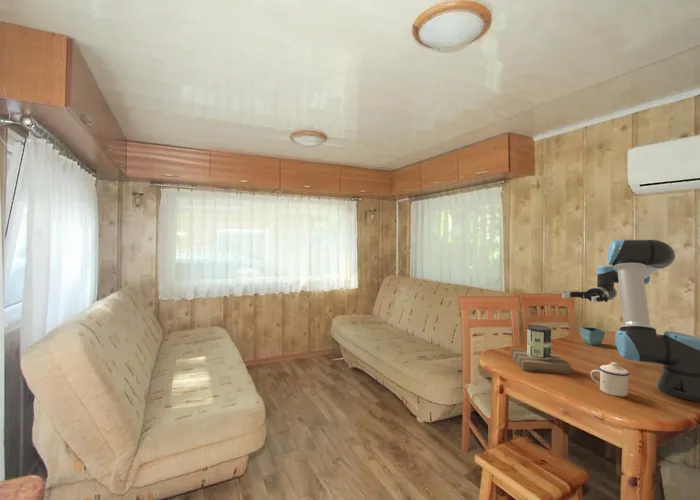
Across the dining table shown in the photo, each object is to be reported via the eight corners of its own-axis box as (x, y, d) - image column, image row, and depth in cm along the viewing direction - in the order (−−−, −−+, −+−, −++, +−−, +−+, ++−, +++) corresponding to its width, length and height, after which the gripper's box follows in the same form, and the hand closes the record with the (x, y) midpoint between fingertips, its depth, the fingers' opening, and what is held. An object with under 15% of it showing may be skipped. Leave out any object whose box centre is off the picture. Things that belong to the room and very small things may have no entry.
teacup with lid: (629, 392, 129) (630, 362, 129) (627, 399, 123) (628, 368, 123) (592, 383, 138) (592, 355, 138) (588, 389, 131) (589, 360, 131)
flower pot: (605, 346, 189) (605, 331, 189) (589, 346, 189) (590, 330, 189) (594, 342, 198) (594, 327, 198) (579, 341, 198) (579, 327, 198)
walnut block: (570, 373, 147) (570, 365, 147) (522, 370, 151) (522, 361, 151) (552, 358, 167) (552, 351, 167) (510, 355, 171) (510, 348, 171)
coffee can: (545, 353, 163) (546, 325, 163) (554, 360, 153) (555, 330, 153) (523, 352, 165) (524, 324, 165) (530, 358, 155) (531, 329, 155)
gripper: (625, 305, 167) (605, 309, 156) (571, 298, 189) (551, 301, 178) (625, 290, 167) (606, 293, 156) (572, 285, 188) (552, 287, 178)
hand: (577, 297), depth 167 cm, fingers open, 13 cm apart
